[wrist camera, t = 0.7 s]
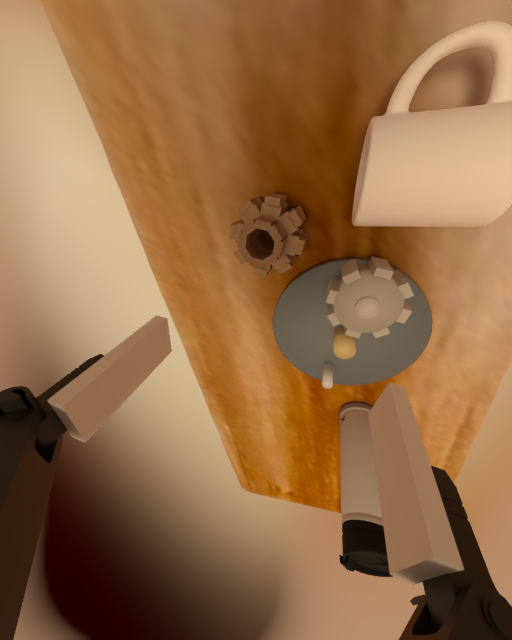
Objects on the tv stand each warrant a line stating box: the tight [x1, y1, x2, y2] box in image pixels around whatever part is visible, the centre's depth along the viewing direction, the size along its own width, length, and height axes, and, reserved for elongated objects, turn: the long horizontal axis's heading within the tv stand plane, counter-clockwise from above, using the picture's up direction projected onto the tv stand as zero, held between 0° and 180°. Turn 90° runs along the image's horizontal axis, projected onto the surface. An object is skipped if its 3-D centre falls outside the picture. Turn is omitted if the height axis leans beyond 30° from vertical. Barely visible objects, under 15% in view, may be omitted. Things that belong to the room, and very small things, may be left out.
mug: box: [352, 21, 512, 227], centre depth 18 cm, size 12×10×8 cm
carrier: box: [273, 256, 432, 389], centre depth 30 cm, size 21×20×6 cm
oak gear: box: [230, 193, 308, 276], centre depth 26 cm, size 8×8×6 cm
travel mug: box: [340, 402, 393, 577], centre depth 32 cm, size 6×7×20 cm
